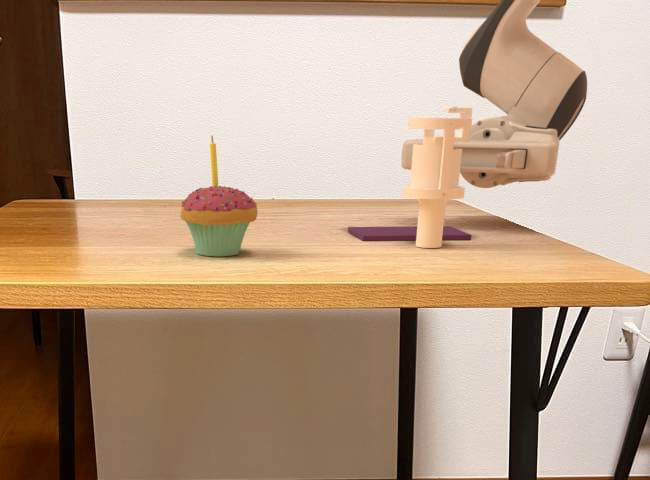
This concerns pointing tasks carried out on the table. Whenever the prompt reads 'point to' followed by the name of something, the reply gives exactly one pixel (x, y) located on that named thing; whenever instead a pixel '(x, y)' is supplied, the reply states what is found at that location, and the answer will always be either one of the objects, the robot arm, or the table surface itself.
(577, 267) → the table surface
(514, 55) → the robot arm
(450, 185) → the peach tall flanged fixture
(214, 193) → the cupcake
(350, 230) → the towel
